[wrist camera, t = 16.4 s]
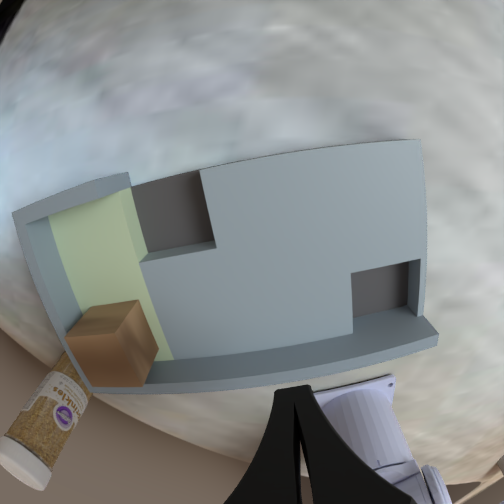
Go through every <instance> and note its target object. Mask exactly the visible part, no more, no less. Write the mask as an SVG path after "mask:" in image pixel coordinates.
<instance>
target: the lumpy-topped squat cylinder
mask: <svg viewBox="0 0 504 504" xmlns="http://www.w3.org/2000/svg"><path fill="white" fill-rule="evenodd" d="M497 464H498V466H499V467H500V469H501V471H502V473H503V475H504V455H503V456H502V457H501V458H500V459H499V461H498V462H497Z"/></svg>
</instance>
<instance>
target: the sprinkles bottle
mask: <svg viewBox="0 0 504 504" xmlns="http://www.w3.org/2000/svg"><path fill="white" fill-rule="evenodd" d="M92 394H93V393H90V392H89V390H88V389H87V387H86V385H85V384H84V382H83V380H82V379H81V377H80V375H79V374H78V372H77V370H76V369H75V367H74V365H73V363H72V362H71V360H70V358H69V356H68V354H67V353H66V351H65V352H64V353H63V354H62V356H61V358H60V360H59V361H58V363H57V364H56V365H55V366H54V368H53V369H52V371H51V372H49V373H48V374H47V376H46V377H45V378H44V380H43V381H42V382H41V384H40V385H39V386H38V388H37V389H36V391H35V392H34V393H33V395H32V396H31V397H30V399H29V400H28V401H27V403H26V404H25V406H24V407H23V409H22V410H21V412H20V414H19V416H18V417H17V419H16V420H15V421H14V423H13V424H12V426H11V427H10V428H9V430H8V432H7V433H5V435H4V436H1V438H0V464H1V465H2V466H3V467H4V468H5V469H6V470H7V471H8V472H9V473H11V474H12V475H13V476H14V477H16V478H17V479H19V480H20V481H22V482H23V483H24V484H26V485H28V486H30V487H32V488H34V489H36V490H40V491H42V490H44V489H45V488H46V486H47V484H48V482H49V480H50V478H51V476H52V474H51V472H52V467H53V465H54V463H55V462H56V460H57V458H58V456H59V454H60V452H61V450H62V449H63V446H64V445H65V443H66V441H67V439H68V437H69V435H70V434H71V431H72V430H73V429H74V428H75V426H76V424H77V423H78V421H79V419H80V417H81V415H82V414H83V412H84V410H85V408H86V406H87V404H88V401H89V399H90V398H91V396H92Z"/></svg>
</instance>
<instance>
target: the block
mask: <svg viewBox="0 0 504 504" xmlns="http://www.w3.org/2000/svg"><path fill="white" fill-rule="evenodd" d="M64 339H65V341H66V342H67V344H68V346H69V348H70V350H71V352H72V354H73V355H74V357H75V359H76V361H77V362H78V364H79V366H80V368H81V369H82V371H83V373H84V374H85V376H86V378H87V379H88V381H89V382H90V384H91V386H92V387H143V385H144V383H145V380H146V378H147V376H148V373H149V371H150V369H151V366H152V364H153V362H154V359H155V357H156V355H157V352H158V350H159V347H158V345H157V343H156V341H155V338H154V336H153V334H152V331H151V329H150V326H149V324H148V322H147V319H146V317H145V314H144V312H143V309H142V307H141V304H140V302H139V299H137V300H131V301H125V302H118V303H112V304H105V305H98V306H92V307H91V308H90V309H89V310H88V311H87V312H86V313H85V314H84V315H83V316H82V317H81V319H80V320H79V321H78V322H77V323H76V324H75V325H74V326H73V328H72V329H71V330H70V331H69V332H68V333H67V334H66V336H65V337H64Z"/></svg>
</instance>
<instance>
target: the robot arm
mask: <svg viewBox="0 0 504 504" xmlns="http://www.w3.org/2000/svg"><path fill="white" fill-rule="evenodd" d="M395 383H396V377H395V376H394V375H388V376H385V377H381V378H377V379H374V380H370V381H366V382H362V383H358V384H354V385H350V386H345V387H341V388H336V389H331V390H327V391H322V392H316V393H313V391H312V389H311V386H310V385H302V386H296V387H290V388H284V389H277V390H276V391H275V392H274V400H273V406H272V410H271V414H270V418H269V421H268V424H267V427H266V430H265V433H264V436H263V438H262V441H261V443H260V445H259V448H258V450H257V452H256V454H255V456H254V458H253V460H252V462H251V464H250V466H249V468H248V470H247V471H246V473H245V474H244V476H243V478H242V479H241V481H240V482H239V484H238V486H237V487H236V488H235V490H234V491H233V492H232V494H231V495H230V496H229V497H228V499H227V500H226V501H225V502H224V504H302V497H301V481H300V480H301V479H300V441H301V445H302V450H303V454H304V458H305V462H306V466H307V470H308V474H309V478H310V483H311V488H312V494H313V503H314V504H452V502H451V499H450V496H449V494H448V491H447V489H446V486H445V484H444V481H443V479H442V477H441V475H440V473H439V471H438V469H437V468H436V467H433V466H429V465H425V466H423V467H421V470H422V473H423V476H424V480H425V482H424V480H423V477H422V475H421V472H420V470H419V467H418V465H417V462H416V460H415V459H413V456H412V454H411V451H410V449H409V446H408V444H407V442H406V439H405V437H404V435H403V432H402V430H401V427H400V425H399V423H398V420H397V418H396V416H395V414H394V411H393V409H392V407H391V406H392V401H393V395H394V389H395ZM425 483H426V485H425ZM426 486H427V487H426ZM427 489H428V490H427ZM499 504H504V501H502V502H501V503H499Z"/></svg>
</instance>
